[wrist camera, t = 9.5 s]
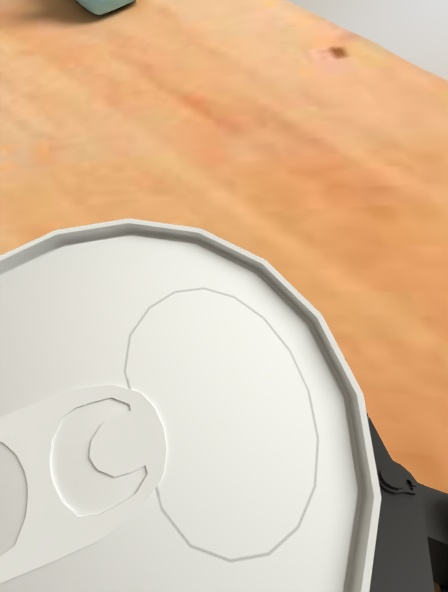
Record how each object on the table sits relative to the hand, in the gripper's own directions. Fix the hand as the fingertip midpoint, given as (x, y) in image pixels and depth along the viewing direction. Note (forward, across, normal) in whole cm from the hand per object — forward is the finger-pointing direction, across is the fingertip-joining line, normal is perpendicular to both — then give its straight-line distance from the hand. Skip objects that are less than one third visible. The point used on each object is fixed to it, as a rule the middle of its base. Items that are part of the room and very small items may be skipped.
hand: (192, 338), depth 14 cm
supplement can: (+2, 0, -7) cm, 7 cm away
